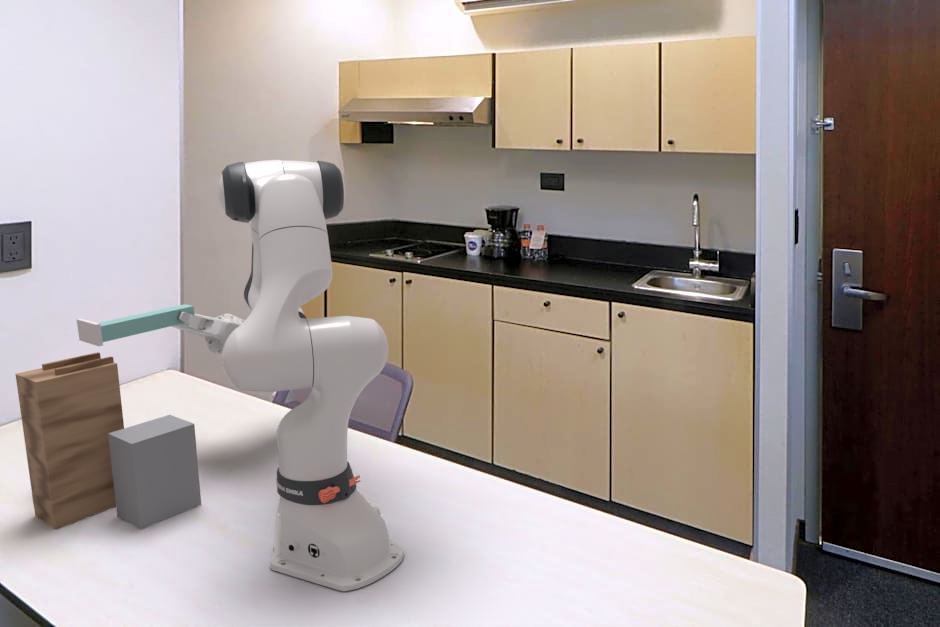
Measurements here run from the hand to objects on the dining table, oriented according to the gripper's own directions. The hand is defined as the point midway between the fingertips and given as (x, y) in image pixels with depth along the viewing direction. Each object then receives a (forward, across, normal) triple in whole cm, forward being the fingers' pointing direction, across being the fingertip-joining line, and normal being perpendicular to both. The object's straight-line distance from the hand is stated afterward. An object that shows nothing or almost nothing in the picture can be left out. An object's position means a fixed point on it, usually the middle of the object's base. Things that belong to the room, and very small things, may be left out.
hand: (173, 313), depth 149 cm
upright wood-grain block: (+2, 0, +39) cm, 39 cm away
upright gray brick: (-5, +12, +35) cm, 38 cm away
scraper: (+4, 0, +5) cm, 7 cm away
